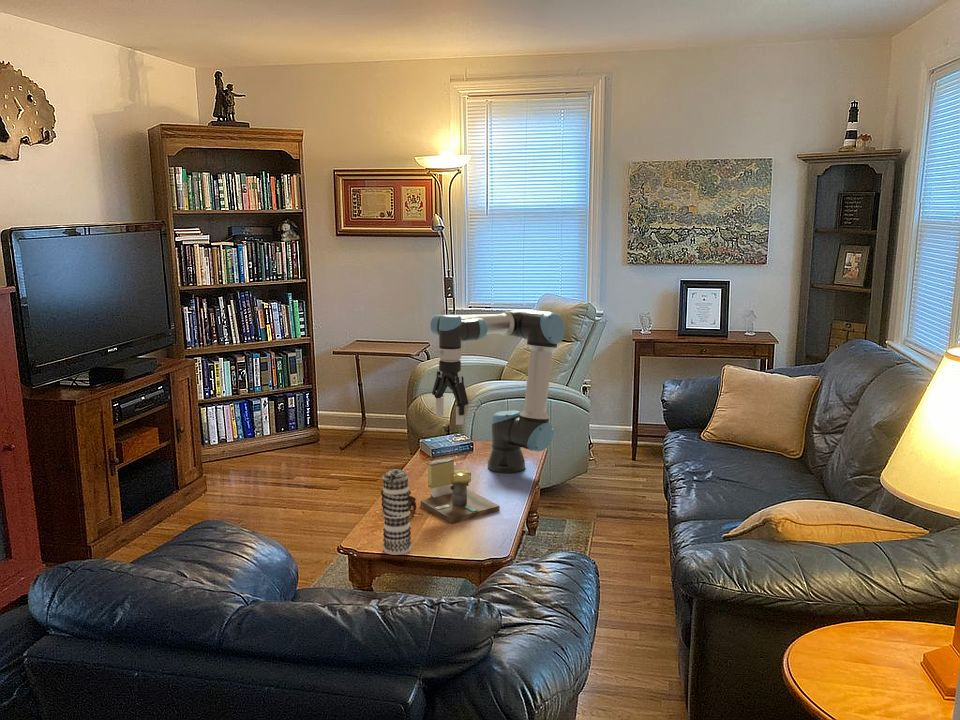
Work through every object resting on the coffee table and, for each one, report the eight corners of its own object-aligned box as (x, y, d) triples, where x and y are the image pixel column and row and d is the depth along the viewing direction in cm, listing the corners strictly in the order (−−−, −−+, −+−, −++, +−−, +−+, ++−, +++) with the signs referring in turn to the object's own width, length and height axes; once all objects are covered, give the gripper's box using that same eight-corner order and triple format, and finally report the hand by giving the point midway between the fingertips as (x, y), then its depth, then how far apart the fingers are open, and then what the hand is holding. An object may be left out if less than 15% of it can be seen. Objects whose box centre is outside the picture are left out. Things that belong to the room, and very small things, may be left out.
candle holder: (452, 500, 285) (452, 468, 283) (426, 498, 287) (426, 467, 284) (458, 491, 294) (458, 460, 292) (433, 489, 296) (432, 459, 294)
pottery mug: (382, 513, 275) (389, 490, 277) (405, 521, 279) (412, 498, 281) (396, 516, 264) (403, 492, 267) (420, 523, 269) (427, 500, 271)
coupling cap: (462, 475, 281) (462, 452, 279) (475, 481, 275) (475, 458, 273) (423, 484, 272) (423, 460, 271) (435, 490, 266) (435, 467, 264)
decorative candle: (387, 557, 239) (385, 478, 234) (378, 545, 247) (376, 469, 243) (416, 552, 243) (414, 474, 238) (406, 540, 251) (404, 465, 246)
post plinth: (467, 494, 291) (467, 468, 289) (499, 511, 275) (499, 483, 273) (420, 506, 280) (420, 479, 278) (450, 524, 264) (450, 495, 262)
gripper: (422, 355, 281) (422, 413, 284) (460, 366, 260) (459, 429, 264) (440, 353, 285) (440, 411, 288) (479, 364, 264) (478, 426, 268)
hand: (449, 420), depth 276 cm, fingers open, 13 cm apart
